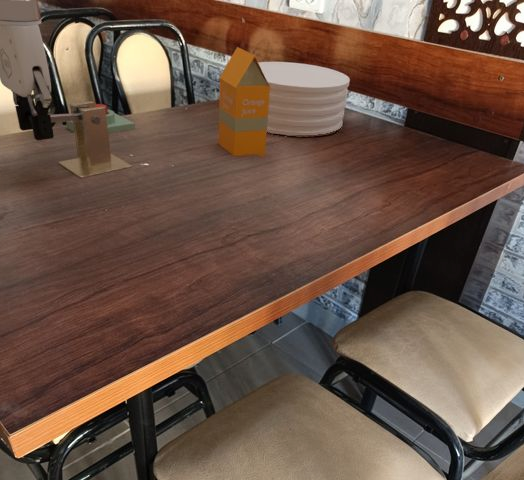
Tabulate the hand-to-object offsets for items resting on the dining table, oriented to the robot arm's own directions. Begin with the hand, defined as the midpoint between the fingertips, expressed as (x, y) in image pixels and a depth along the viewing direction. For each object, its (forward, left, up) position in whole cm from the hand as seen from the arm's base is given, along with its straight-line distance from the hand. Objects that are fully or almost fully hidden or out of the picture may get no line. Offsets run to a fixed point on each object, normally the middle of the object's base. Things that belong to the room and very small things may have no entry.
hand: (36, 132), depth 89 cm
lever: (+5, 0, +1) cm, 5 cm away
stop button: (+23, +21, -5) cm, 32 cm away
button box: (+23, +21, -9) cm, 32 cm away
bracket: (+10, 0, -9) cm, 13 cm away
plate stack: (+70, +5, -9) cm, 71 cm away
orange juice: (+42, -7, -9) cm, 44 cm away
